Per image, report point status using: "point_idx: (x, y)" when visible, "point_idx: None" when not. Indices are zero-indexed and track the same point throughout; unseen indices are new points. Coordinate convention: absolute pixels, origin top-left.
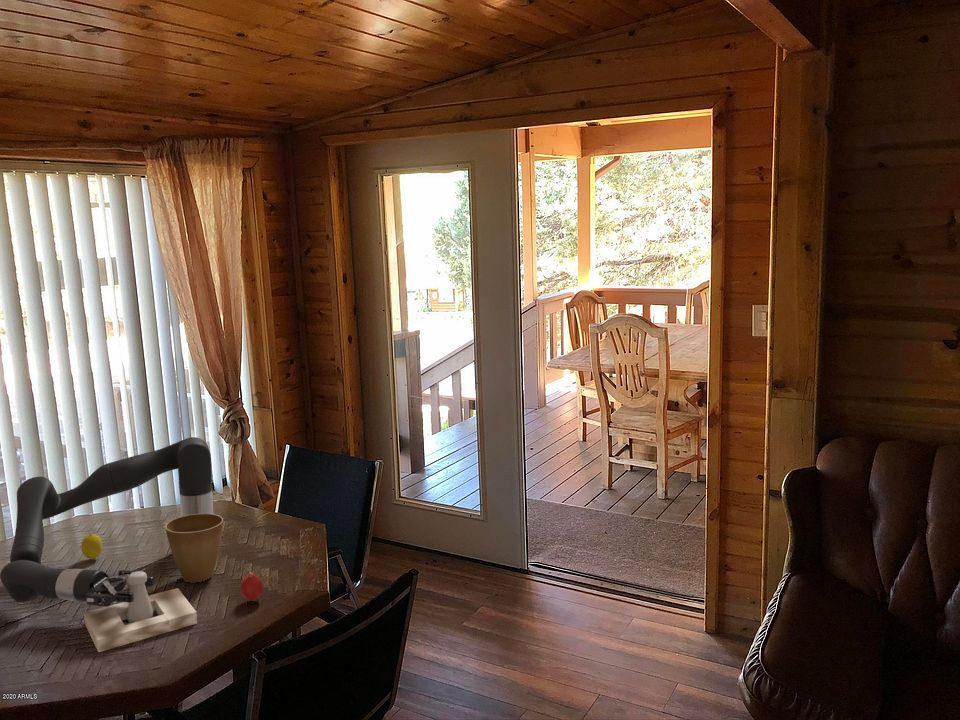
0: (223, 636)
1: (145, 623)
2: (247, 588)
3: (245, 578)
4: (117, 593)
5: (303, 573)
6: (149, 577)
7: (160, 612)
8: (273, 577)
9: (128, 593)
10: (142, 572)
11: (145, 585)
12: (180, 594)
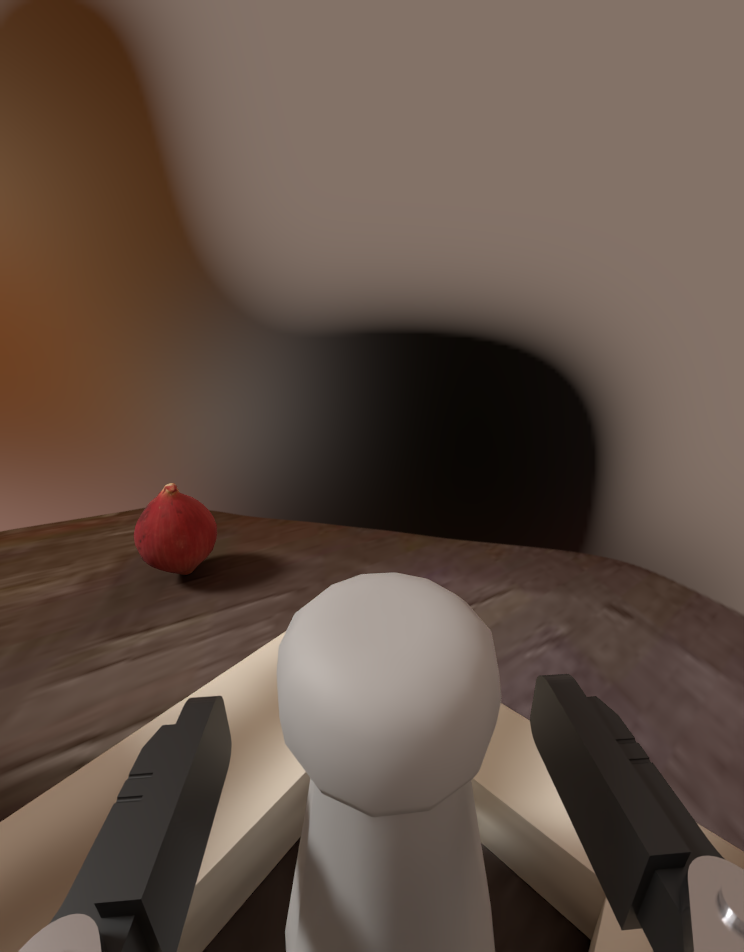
0: (393, 558)
1: (500, 738)
2: (210, 518)
3: (169, 509)
4: (683, 849)
5: (28, 542)
6: (200, 716)
7: (303, 800)
8: (3, 585)
9: (580, 694)
10: (341, 590)
11: (207, 835)
12: (115, 756)
